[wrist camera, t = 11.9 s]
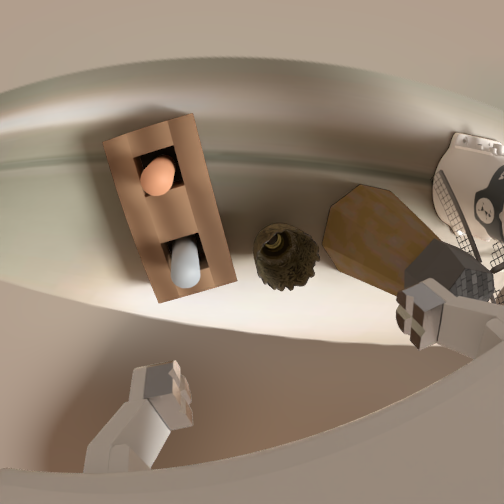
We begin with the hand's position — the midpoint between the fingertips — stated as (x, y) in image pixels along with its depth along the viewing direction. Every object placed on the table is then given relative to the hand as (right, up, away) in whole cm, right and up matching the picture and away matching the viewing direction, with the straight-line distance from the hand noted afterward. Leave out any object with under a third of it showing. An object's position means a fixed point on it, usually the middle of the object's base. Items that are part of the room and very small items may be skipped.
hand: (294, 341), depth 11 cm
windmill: (+15, +6, +35) cm, 39 cm away
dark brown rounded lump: (+1, +5, +32) cm, 33 cm away
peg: (-12, +13, +26) cm, 32 cm away
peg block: (-11, +9, +28) cm, 31 cm away
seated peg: (-10, +4, +30) cm, 32 cm away
